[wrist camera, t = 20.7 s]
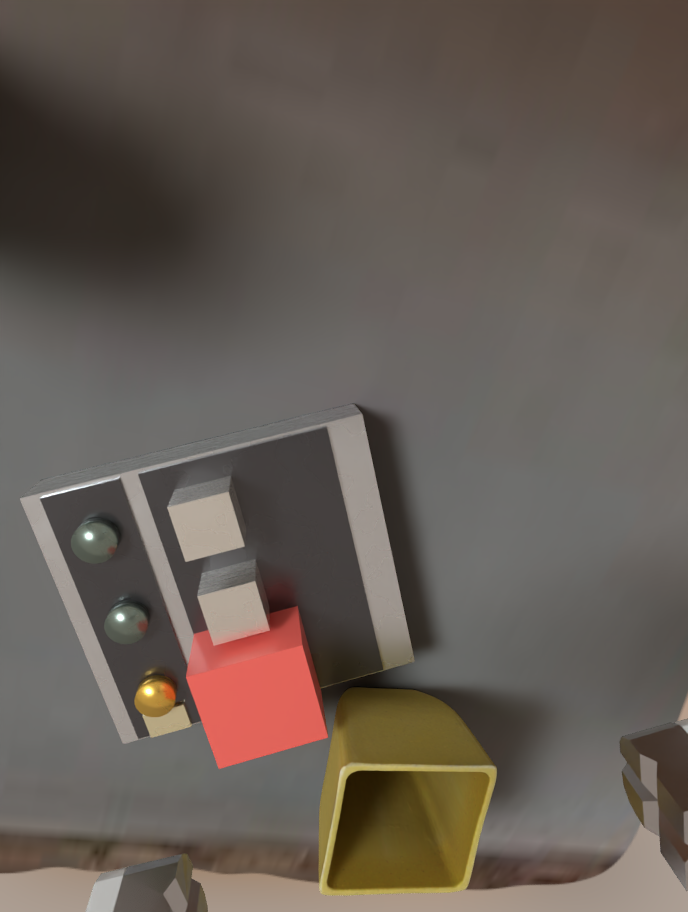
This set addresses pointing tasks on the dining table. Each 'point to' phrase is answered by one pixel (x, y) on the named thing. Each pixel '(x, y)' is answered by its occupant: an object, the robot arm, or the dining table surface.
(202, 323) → the dining table surface
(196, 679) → the cap
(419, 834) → the flower pot
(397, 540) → the dining table surface
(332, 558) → the breaker panel
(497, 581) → the dining table surface
